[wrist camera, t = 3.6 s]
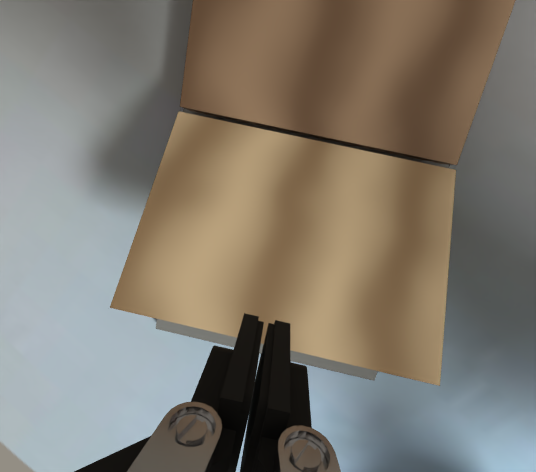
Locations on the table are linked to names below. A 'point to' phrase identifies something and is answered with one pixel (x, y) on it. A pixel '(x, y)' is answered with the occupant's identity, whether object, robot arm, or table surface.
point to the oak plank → (296, 245)
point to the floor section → (343, 80)
